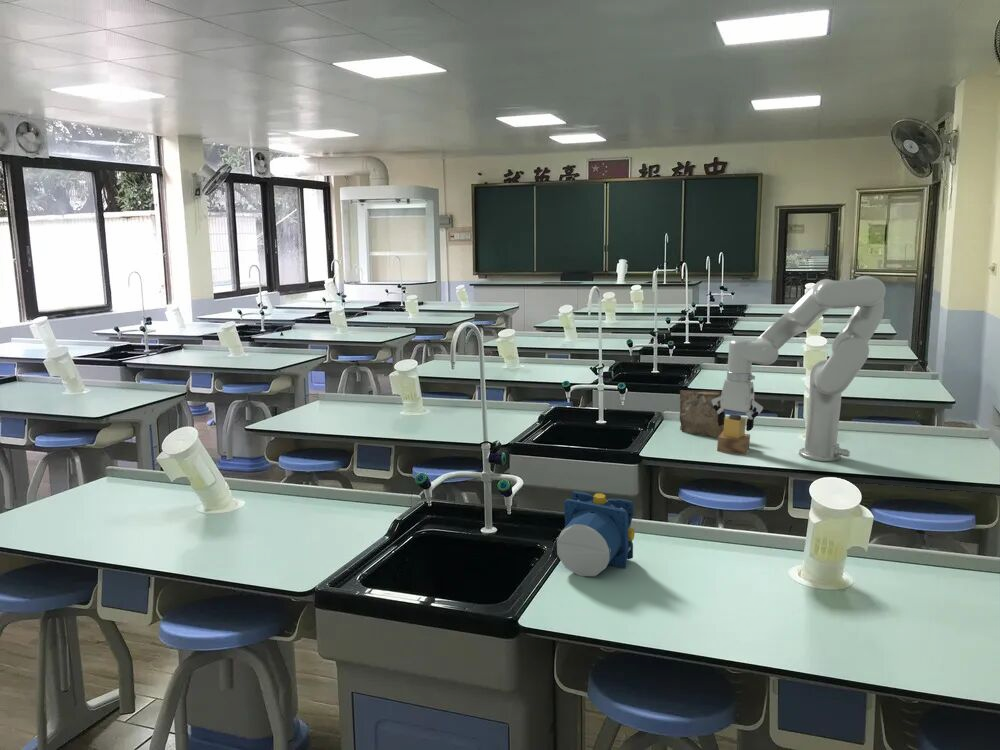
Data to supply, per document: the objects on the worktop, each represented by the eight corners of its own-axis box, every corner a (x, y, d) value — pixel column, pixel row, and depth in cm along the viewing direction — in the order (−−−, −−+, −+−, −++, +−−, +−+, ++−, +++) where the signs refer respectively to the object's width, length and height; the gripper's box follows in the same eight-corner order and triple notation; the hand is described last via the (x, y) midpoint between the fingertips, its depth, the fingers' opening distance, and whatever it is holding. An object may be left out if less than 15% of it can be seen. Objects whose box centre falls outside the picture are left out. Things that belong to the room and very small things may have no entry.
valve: (572, 545, 183) (571, 485, 178) (636, 558, 176) (636, 497, 171) (548, 574, 172) (546, 511, 167) (615, 590, 165) (615, 525, 160)
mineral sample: (726, 436, 282) (729, 392, 279) (723, 439, 278) (726, 394, 275) (678, 429, 291) (680, 386, 288) (674, 431, 287) (676, 388, 284)
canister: (744, 435, 265) (746, 415, 263) (738, 438, 261) (739, 418, 260) (729, 432, 268) (731, 412, 267) (723, 435, 264) (724, 415, 263)
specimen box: (749, 448, 268) (750, 434, 267) (745, 455, 260) (746, 440, 259) (721, 445, 271) (722, 431, 270) (717, 451, 263) (718, 437, 262)
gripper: (768, 379, 258) (764, 430, 262) (718, 372, 269) (715, 421, 272) (760, 382, 253) (756, 434, 256) (709, 375, 263) (705, 425, 266)
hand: (734, 427), depth 264 cm, fingers open, 9 cm apart
